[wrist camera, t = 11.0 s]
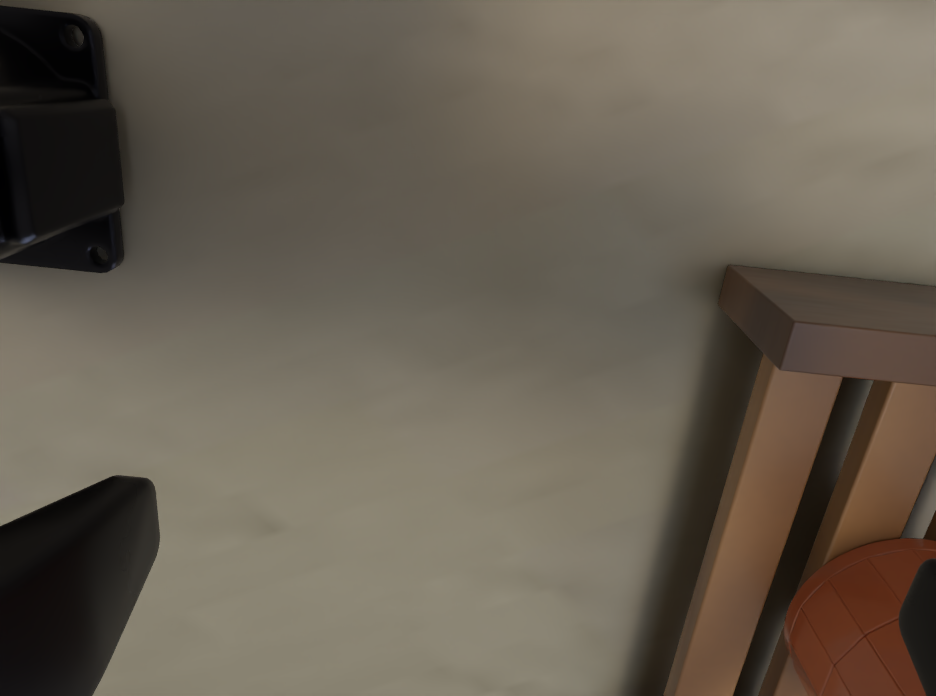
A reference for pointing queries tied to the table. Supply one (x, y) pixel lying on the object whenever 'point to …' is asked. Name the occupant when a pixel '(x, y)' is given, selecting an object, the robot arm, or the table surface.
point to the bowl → (856, 622)
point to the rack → (809, 452)
